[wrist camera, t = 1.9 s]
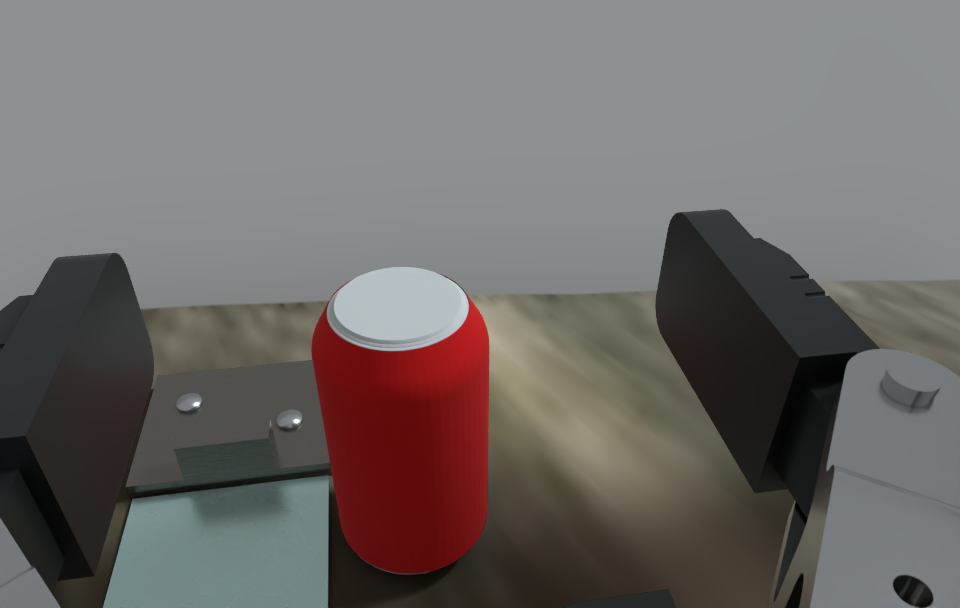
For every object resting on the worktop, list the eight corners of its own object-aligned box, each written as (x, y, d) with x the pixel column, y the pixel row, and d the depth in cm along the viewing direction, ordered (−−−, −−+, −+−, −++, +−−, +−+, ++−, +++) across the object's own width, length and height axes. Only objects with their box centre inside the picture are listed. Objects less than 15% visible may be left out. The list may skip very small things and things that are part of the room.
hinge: (333, 369, 40) (327, 328, 39) (334, 915, 21) (321, 881, 19) (161, 387, 39) (147, 346, 37) (-5, 982, 20) (-48, 952, 18)
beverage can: (372, 461, 35) (346, 243, 28) (500, 485, 34) (507, 265, 27) (319, 571, 30) (271, 342, 23) (467, 605, 29) (463, 374, 22)
